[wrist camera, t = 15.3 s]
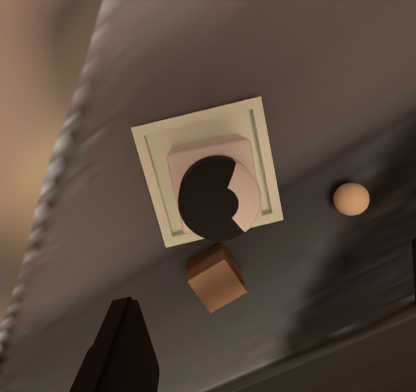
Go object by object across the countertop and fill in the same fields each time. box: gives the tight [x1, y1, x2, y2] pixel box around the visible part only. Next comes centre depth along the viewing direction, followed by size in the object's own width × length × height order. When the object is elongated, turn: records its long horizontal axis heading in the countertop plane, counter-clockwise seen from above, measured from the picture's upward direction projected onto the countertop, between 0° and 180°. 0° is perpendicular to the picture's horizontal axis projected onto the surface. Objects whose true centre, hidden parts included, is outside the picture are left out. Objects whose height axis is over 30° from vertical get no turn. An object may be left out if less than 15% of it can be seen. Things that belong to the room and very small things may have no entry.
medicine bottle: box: [166, 134, 262, 241], centre depth 28 cm, size 7×7×12 cm
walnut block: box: [187, 242, 247, 313], centre depth 35 cm, size 4×4×4 cm
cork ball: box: [333, 183, 369, 216], centre depth 34 cm, size 4×4×4 cm
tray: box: [131, 96, 283, 248], centre depth 33 cm, size 13×13×2 cm
